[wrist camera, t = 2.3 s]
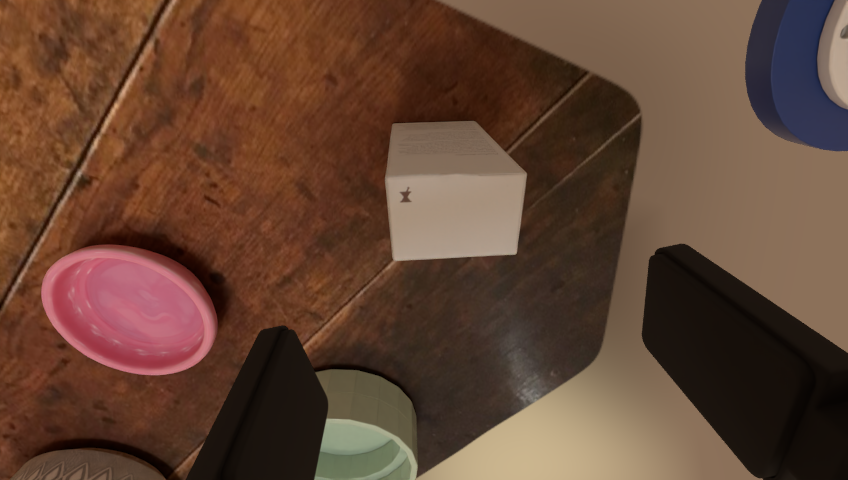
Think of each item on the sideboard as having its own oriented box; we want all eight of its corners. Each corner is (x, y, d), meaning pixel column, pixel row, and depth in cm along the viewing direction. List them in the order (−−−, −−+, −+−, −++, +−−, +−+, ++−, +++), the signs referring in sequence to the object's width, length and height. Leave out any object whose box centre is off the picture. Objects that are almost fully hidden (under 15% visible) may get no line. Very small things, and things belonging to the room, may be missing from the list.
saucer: (88, 341, 33) (59, 368, 30) (54, 218, 28) (14, 237, 25) (232, 357, 35) (216, 384, 32) (226, 244, 29) (208, 265, 26)
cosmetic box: (395, 180, 27) (388, 263, 17) (391, 121, 25) (381, 173, 15) (475, 177, 28) (519, 258, 17) (478, 119, 26) (529, 168, 15)
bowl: (396, 352, 35) (395, 405, 30) (427, 445, 42) (431, 502, 37) (248, 380, 36) (221, 436, 31) (302, 467, 43) (288, 526, 38)
